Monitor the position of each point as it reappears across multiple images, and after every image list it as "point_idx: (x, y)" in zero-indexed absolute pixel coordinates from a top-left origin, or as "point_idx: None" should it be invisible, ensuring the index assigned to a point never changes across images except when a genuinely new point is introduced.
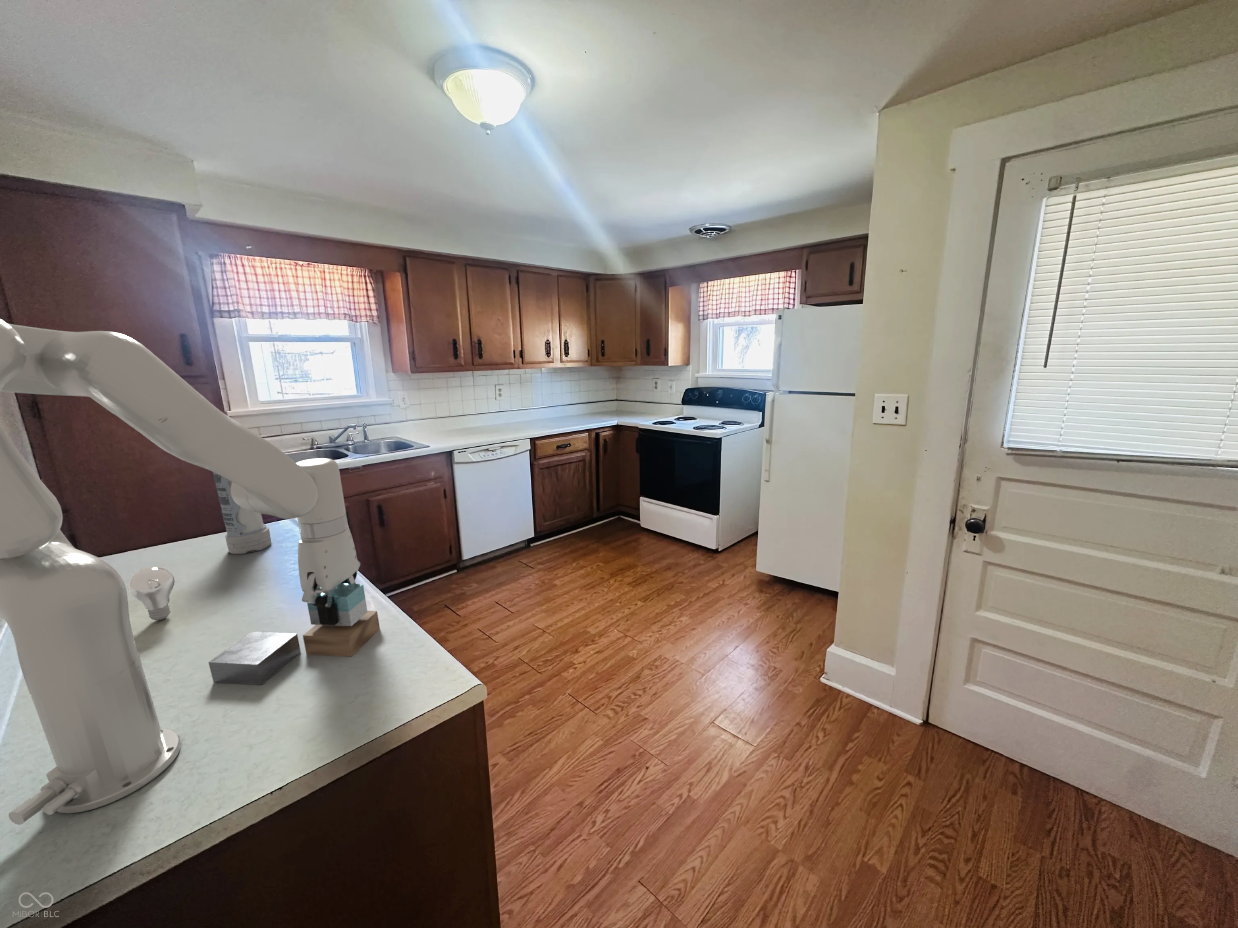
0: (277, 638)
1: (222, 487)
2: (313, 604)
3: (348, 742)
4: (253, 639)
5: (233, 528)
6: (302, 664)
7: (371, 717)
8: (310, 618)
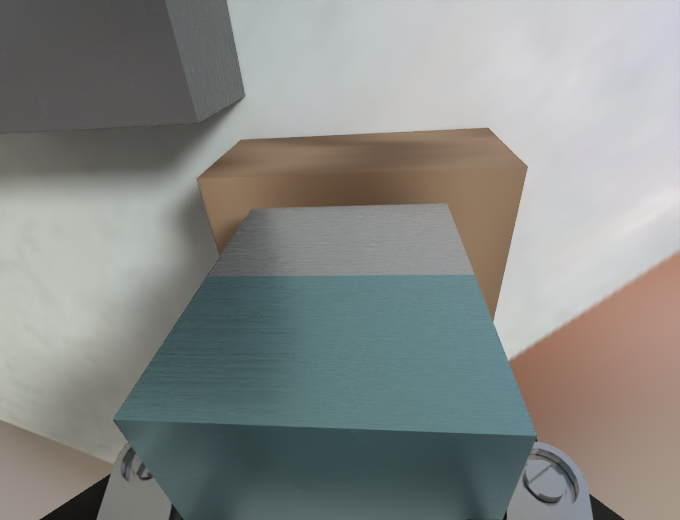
0: (96, 13)
1: None
2: (71, 509)
3: (63, 434)
4: None
5: None
6: (182, 177)
7: (124, 440)
8: (234, 237)
